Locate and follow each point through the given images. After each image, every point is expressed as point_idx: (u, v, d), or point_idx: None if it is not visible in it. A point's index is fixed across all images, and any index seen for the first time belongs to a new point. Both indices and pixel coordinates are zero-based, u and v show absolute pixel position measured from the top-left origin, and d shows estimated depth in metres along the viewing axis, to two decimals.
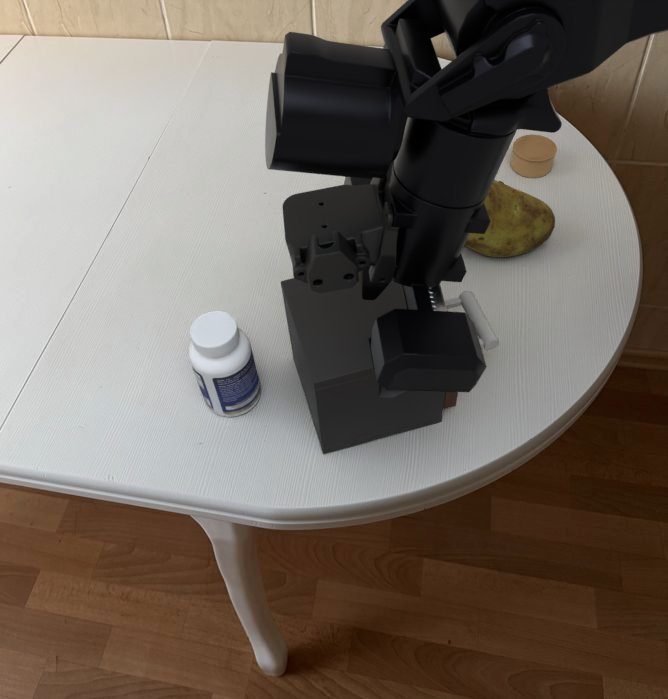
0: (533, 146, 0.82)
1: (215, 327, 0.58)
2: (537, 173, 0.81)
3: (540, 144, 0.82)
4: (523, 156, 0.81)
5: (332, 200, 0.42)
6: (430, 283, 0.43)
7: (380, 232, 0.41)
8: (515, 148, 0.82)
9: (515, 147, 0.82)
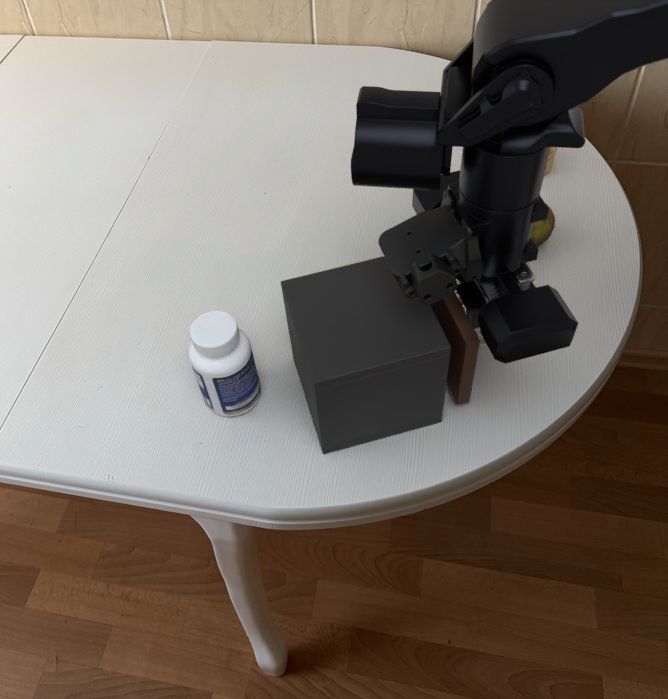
0: None
1: (215, 327, 0.58)
2: None
3: None
4: None
5: (416, 228, 0.52)
6: (512, 268, 0.53)
7: (464, 243, 0.50)
8: None
9: None
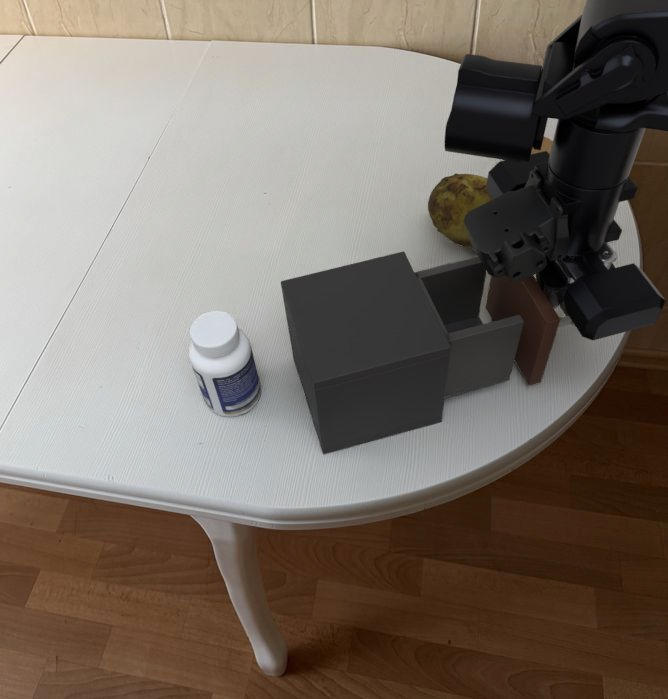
0: None
1: (215, 327, 0.58)
2: None
3: None
4: None
5: (503, 207, 0.53)
6: (596, 248, 0.54)
7: (553, 221, 0.51)
8: None
9: None
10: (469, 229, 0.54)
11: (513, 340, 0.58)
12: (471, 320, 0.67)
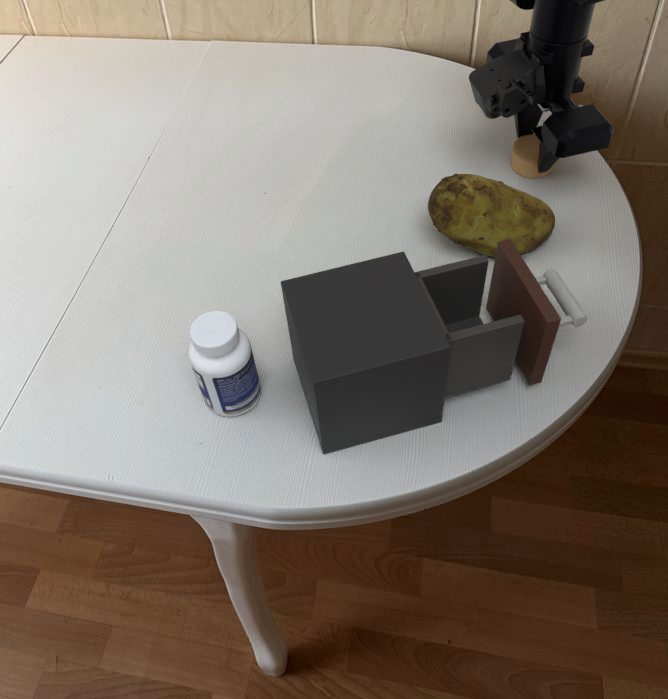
0: (533, 146, 0.82)
1: (215, 327, 0.58)
2: (537, 173, 0.81)
3: None
4: (523, 156, 0.81)
5: (497, 66, 0.73)
6: (565, 96, 0.73)
7: (533, 72, 0.71)
8: (515, 148, 0.82)
9: (515, 147, 0.82)
10: (472, 82, 0.73)
11: (514, 340, 0.58)
12: (472, 319, 0.67)
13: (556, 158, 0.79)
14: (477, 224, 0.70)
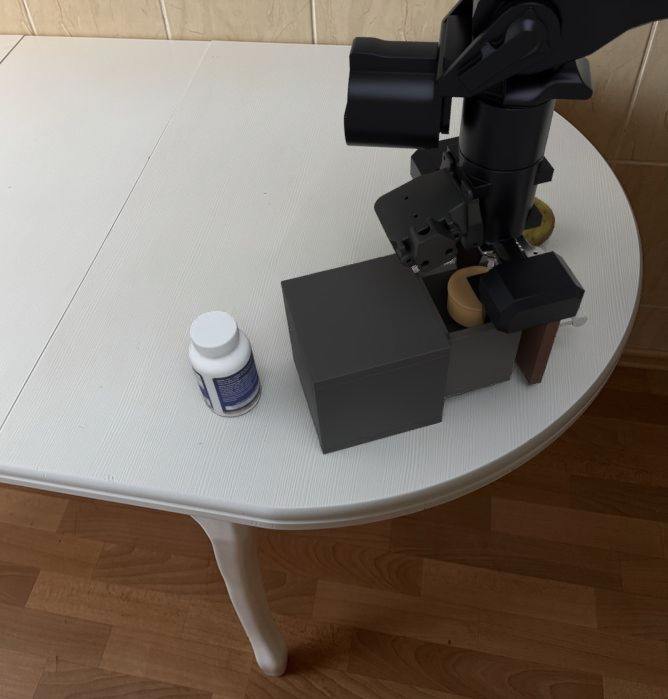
0: None
1: (215, 327, 0.58)
2: (482, 323, 0.58)
3: None
4: (461, 302, 0.57)
5: (414, 192, 0.50)
6: (515, 235, 0.50)
7: (464, 206, 0.48)
8: (451, 288, 0.58)
9: (451, 287, 0.58)
10: (378, 215, 0.50)
11: (514, 340, 0.58)
12: None
13: None
14: None
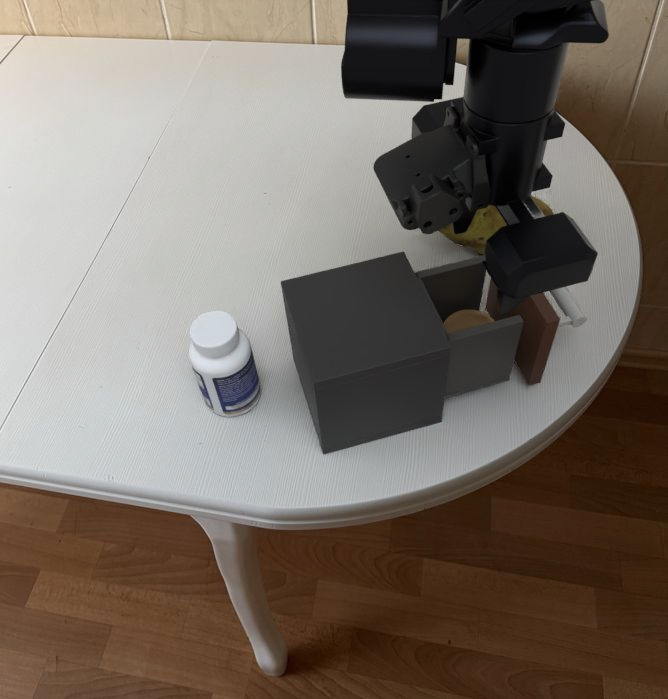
0: None
1: (215, 327, 0.58)
2: None
3: None
4: None
5: (416, 150, 0.47)
6: (523, 196, 0.47)
7: (469, 163, 0.45)
8: None
9: None
10: (378, 175, 0.47)
11: (513, 340, 0.58)
12: None
13: (524, 296, 0.52)
14: (477, 224, 0.70)
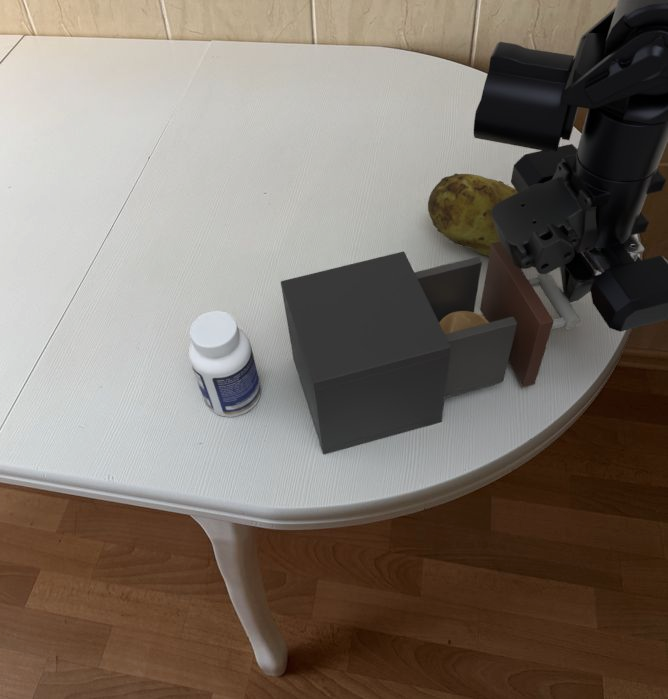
0: None
1: (215, 327, 0.58)
2: None
3: None
4: None
5: (530, 199, 0.54)
6: (622, 240, 0.54)
7: (581, 213, 0.52)
8: None
9: None
10: (496, 221, 0.54)
11: (507, 342, 0.58)
12: None
13: (590, 288, 0.61)
14: (477, 224, 0.70)
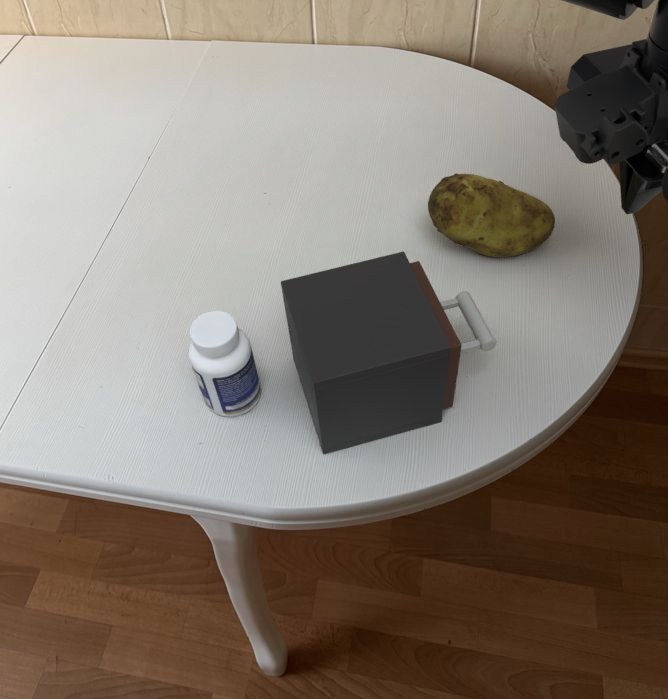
0: None
1: (215, 327, 0.58)
2: None
3: None
4: None
5: (597, 89, 0.51)
6: None
7: (653, 98, 0.49)
8: None
9: None
10: (561, 112, 0.51)
11: None
12: None
13: (652, 195, 0.58)
14: (477, 224, 0.70)
